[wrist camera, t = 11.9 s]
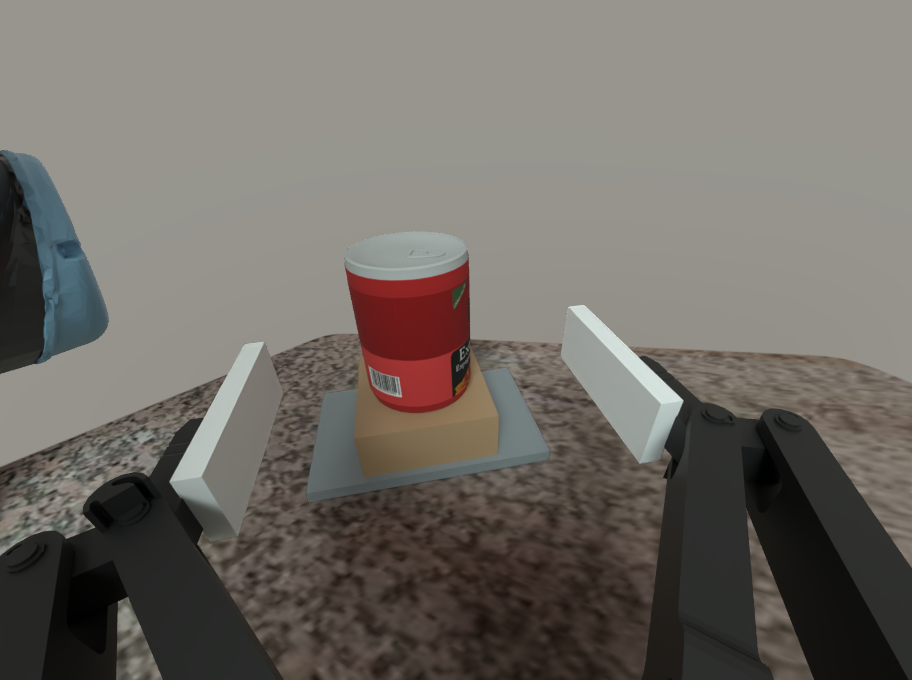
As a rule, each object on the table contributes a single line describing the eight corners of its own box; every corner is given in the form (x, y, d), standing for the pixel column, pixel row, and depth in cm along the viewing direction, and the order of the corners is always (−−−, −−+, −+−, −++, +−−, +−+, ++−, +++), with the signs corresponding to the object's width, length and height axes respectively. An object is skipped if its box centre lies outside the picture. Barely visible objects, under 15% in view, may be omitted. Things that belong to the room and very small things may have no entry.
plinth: (309, 502, 27) (290, 454, 24) (326, 401, 36) (313, 358, 33) (548, 459, 29) (555, 412, 26) (507, 375, 38) (509, 333, 36)
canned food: (479, 409, 27) (479, 262, 21) (367, 423, 26) (334, 275, 20) (463, 351, 33) (459, 227, 28) (372, 361, 33) (348, 235, 27)
